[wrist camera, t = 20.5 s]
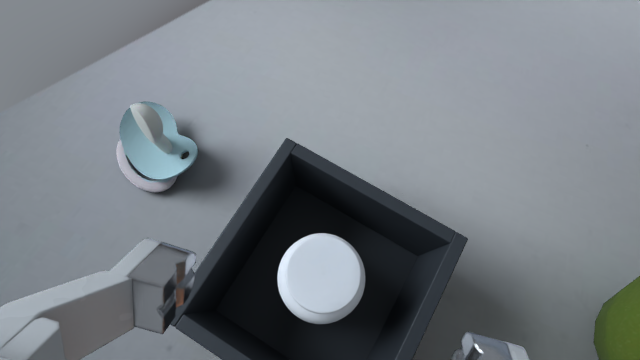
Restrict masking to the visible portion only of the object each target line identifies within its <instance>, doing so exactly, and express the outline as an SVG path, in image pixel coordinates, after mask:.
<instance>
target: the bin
mask: <svg viewBox="0 0 640 360" xmlns="http://www.w3.org/2000/svg"><path fill="white" fill-rule="evenodd" d="M317 233H327V234H332V235H336V236H338V237H340V238H342V239H344V240H345V241H347V242H348V243H349V244H351V245H352V246H353V248H354V249H355V250H356V251H357V253H358V254H359V256H360V258H361V260H362V262H363V265H364V269H365V288H364V292H363V295H362V297H361V299H360V301H359V303H358V305H357V306H356V307H355V308H354V310H353V311H352V312H350V313H349V314H348V315H347V316H345V317H344V318H342V319H340V320H338V321H336V322H333V323H328V324H314V323H309V322H306V321H304V320H302V319H300V318H298V317H297V316H295V315H294V314H293V313H292V312H291V311H290V310H289V309H288V308H287V306H286V305H285V303H284V302H283V300H282V298H281V295H280V293H279V289H278V282H277V275H278V268H279V265H280V262H281V259H282V257H283V255H284V254H285V252H286V251H287V250H288V249H289V247H290V246H291V245H293V244H294V243H295V242H297V241H298V240H300V239H301V238H303V237H306V236H308V235H311V234H317ZM467 240H468V238H466V237H464V236H463V235H461V234H459V233H457V232H455V231H454V230H452V229H450V228H448V227H447V226H445V225H443V224H441V223H439V222H438V221H436V220H434V219H432V218H430V217H429V216H427V215H425V214H423V213H421V212H420V211H418V210H416V209H414V208H412V207H411V206H409V205H407V204H405V203H404V202H402V201H400V200H398V199H396V198H395V197H393V196H391V195H389V194H387V193H386V192H384V191H382V190H380V189H378V188H377V187H375V186H373V185H371V184H369V183H368V182H366V181H364V180H362V179H360V178H359V177H357V176H355V175H353V174H351V173H350V172H348V171H346V170H344V169H342V168H341V167H339V166H337V165H335V164H334V163H332V162H330V161H328V160H326V159H325V158H323V157H321V156H319V155H317V154H316V153H314V152H312V151H310V150H308V149H307V148H305V147H303V146H301V145H299V144H297V143H295V142H294V141H292V140H290V139H288V138H286V139H285V141H284V142H283V144H282V145H281V147H280V148H279V150H278V151H277V153H276V154H275V155H274V157H273V158H272V160H271V161H270V163H269V164H268V166H267V167H266V169H265V170H264V172H263V173H262V175H261V176H260V178H259V179H258V180H257V182H256V183H255V185H254V186H253V188H252V189H251V191H250V192H249V194H248V195H247V197H246V198H245V200H244V201H243V203H242V204H241V205H240V207H239V208H238V210H237V211H236V213H235V214H234V216H233V217H232V219H231V220H230V222H229V223H228V225H227V226H226V228H225V229H224V230H223V232H222V233H221V235H220V236H219V238H218V239H217V241H216V242H215V244H214V245H213V247H212V248H211V250H210V251H209V252H208V254H207V255H206V257H205V258H204V260H203V261H202V263H201V264H200V266H199V267H198V269H197V270H196V272H195V280H194V285H193V288H192V290H191V293H190V295H189V297H188V299H187V300H186V302H185V303H184V305H182V306H180V307H177V308H176V316H175V318H174V319H173V321H172V322H171V323H170V324H171V325H172V326H174V327H175V326H176V329H178V330H179V331H181V332H182V333H184V334H185V335H187V336H188V337H190V338H191V339H193V340H194V341H196V342H197V343H199V344H200V345H202V346H203V347H205V348H206V349H207V350H209V351H210V352H212V353H213V354H215V355H216V356H218V357H219V358H221V359H222V360H412V359H413V356H414V354H415V352H416V350H417V348H418V346H419V343H420V341H421V339H422V337H423V335H424V333H425V331H426V328H427V326H428V324H429V322H430V320H431V318H432V315H433V313H434V311H435V309H436V307H437V305H438V303H439V300H440V298H441V296H442V294H443V292H444V290H445V287H446V285H447V283H448V281H449V279H450V277H451V274H452V272H453V270H454V268H455V266H456V264H457V262H458V259H459V257H460V255H461V253H462V251H463V249H464V246H465V244H466V242H467Z"/></svg>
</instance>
